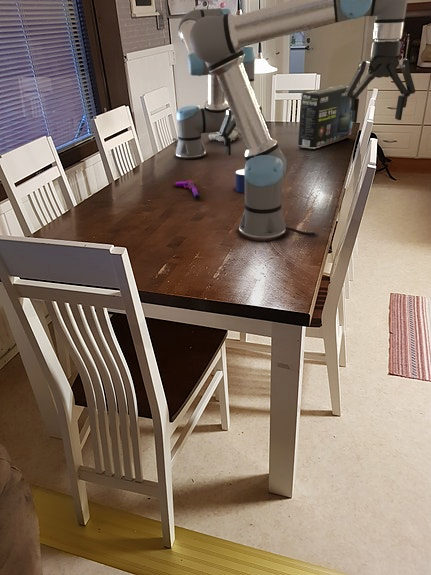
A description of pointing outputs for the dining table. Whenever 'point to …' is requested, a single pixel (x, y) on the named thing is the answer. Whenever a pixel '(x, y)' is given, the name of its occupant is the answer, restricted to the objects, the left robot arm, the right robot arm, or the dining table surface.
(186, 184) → the handgun
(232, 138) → the fossil
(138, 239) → the dining table surface
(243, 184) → the cylinder
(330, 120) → the router box
